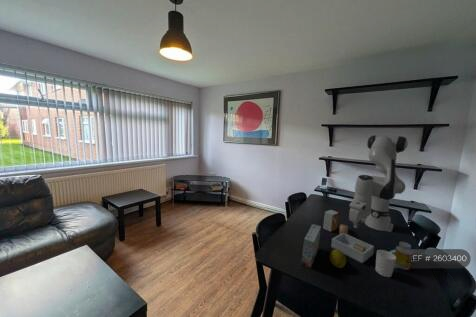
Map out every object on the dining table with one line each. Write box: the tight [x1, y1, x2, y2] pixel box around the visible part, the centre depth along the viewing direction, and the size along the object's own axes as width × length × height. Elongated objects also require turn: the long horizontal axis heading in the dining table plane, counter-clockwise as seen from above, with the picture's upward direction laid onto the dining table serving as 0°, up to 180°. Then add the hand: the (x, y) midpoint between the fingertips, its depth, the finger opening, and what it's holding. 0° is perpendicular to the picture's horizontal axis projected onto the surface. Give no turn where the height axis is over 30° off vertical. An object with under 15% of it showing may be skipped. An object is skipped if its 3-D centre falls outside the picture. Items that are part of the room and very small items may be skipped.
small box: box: [322, 209, 339, 233], centre depth 141 cm, size 8×6×13 cm
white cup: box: [374, 249, 396, 278], centre depth 97 cm, size 8×8×10 cm
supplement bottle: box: [394, 241, 413, 271], centre depth 103 cm, size 7×7×13 cm
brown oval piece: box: [338, 223, 349, 235], centre depth 133 cm, size 5×5×7 cm
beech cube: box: [353, 243, 366, 253], centre depth 112 cm, size 5×5×5 cm
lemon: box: [329, 249, 347, 269], centre depth 102 cm, size 11×8×8 cm
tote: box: [330, 233, 375, 264], centre depth 115 cm, size 18×14×6 cm
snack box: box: [301, 223, 322, 269], centre depth 108 cm, size 21×6×15 cm, turn 148°
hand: (359, 225), depth 114 cm, fingers open, 8 cm apart
